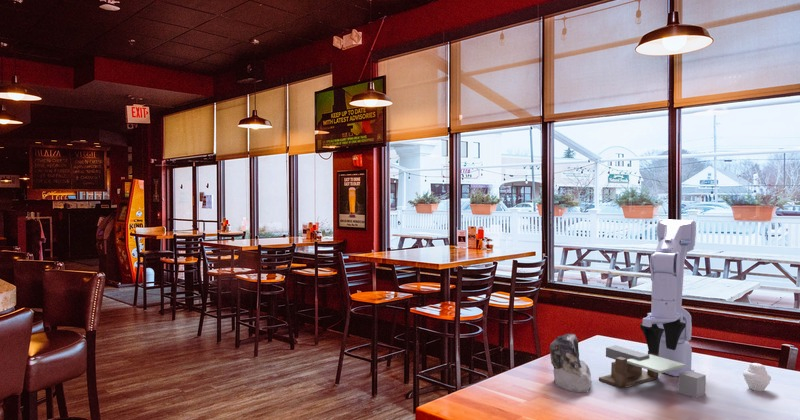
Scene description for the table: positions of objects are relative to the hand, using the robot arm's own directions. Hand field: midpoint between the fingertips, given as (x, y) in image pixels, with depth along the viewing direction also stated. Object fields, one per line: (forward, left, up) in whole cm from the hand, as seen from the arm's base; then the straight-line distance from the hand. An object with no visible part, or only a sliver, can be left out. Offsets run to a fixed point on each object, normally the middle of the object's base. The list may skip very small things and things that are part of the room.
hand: (662, 351), depth 138 cm
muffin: (-23, +12, -10) cm, 28 cm away
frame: (0, -10, -10) cm, 14 cm away
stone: (+17, -15, -10) cm, 25 cm away
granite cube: (-5, +5, -10) cm, 13 cm away
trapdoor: (0, -6, -5) cm, 8 cm away
